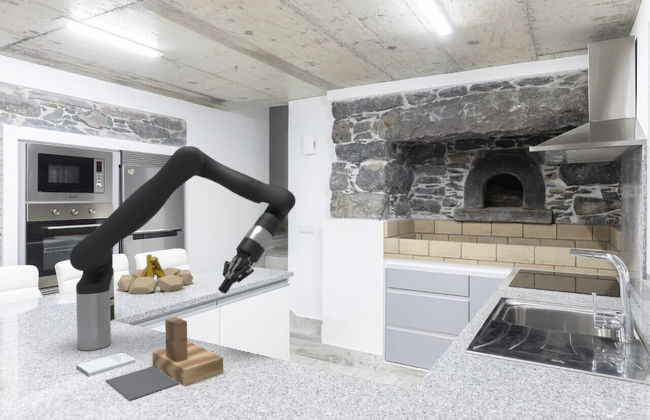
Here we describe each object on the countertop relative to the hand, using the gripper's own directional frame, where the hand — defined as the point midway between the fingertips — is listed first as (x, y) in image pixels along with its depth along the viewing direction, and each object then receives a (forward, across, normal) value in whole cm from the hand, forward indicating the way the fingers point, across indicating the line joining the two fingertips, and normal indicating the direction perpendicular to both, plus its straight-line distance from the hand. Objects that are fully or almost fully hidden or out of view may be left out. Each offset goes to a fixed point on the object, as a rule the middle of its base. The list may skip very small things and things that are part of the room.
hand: (221, 291), depth 122 cm
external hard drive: (+32, -19, -5) cm, 37 cm away
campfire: (-4, -109, +34) cm, 114 cm away
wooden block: (+22, 0, +5) cm, 22 cm away
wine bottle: (+22, -66, +5) cm, 70 cm away
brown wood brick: (+21, 0, 0) cm, 21 cm away
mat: (+30, 0, -4) cm, 30 cm away
